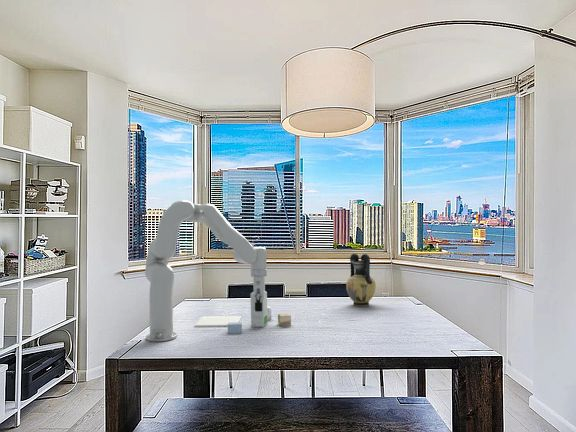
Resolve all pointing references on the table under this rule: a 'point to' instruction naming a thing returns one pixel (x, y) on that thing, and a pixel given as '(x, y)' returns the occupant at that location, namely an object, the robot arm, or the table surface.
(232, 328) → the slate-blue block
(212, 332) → the table surface
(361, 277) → the amphora
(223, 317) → the cream mat
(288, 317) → the birch block
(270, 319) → the white rounded piece
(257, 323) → the skincare box
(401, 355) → the table surface
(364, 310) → the table surface
